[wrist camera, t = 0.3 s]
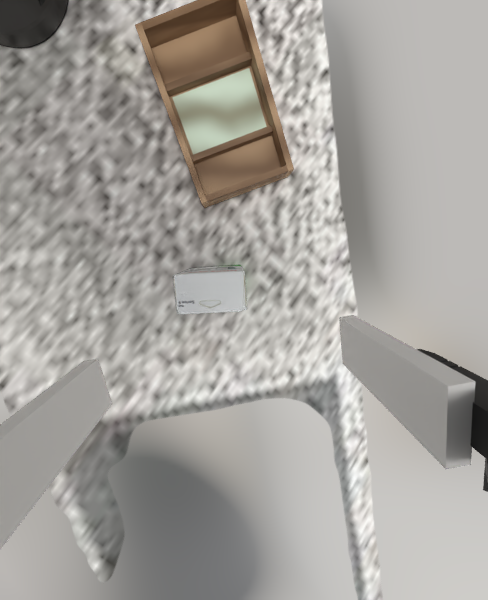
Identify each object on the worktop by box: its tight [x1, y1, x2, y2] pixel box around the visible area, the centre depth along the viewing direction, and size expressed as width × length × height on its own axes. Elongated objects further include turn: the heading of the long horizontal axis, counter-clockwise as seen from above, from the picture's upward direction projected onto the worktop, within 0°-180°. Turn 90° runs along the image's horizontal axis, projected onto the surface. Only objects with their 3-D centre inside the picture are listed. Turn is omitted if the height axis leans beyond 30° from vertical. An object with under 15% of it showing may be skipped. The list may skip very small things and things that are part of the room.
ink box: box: [173, 265, 247, 314], centre depth 33 cm, size 9×5×12 cm, turn 93°
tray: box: [135, 0, 294, 208], centre depth 33 cm, size 22×14×4 cm, turn 20°
